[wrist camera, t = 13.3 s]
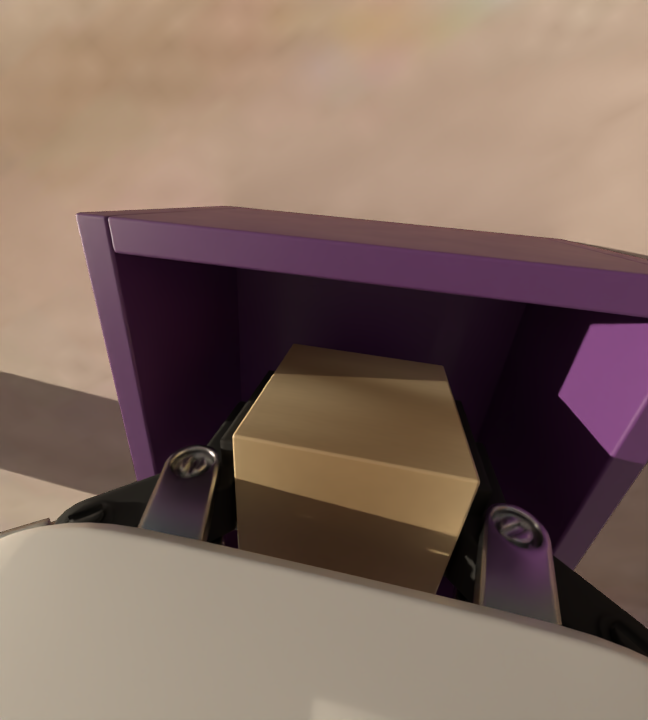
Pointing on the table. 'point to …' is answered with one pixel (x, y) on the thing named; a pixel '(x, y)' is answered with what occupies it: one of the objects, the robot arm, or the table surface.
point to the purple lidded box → (385, 337)
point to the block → (355, 467)
